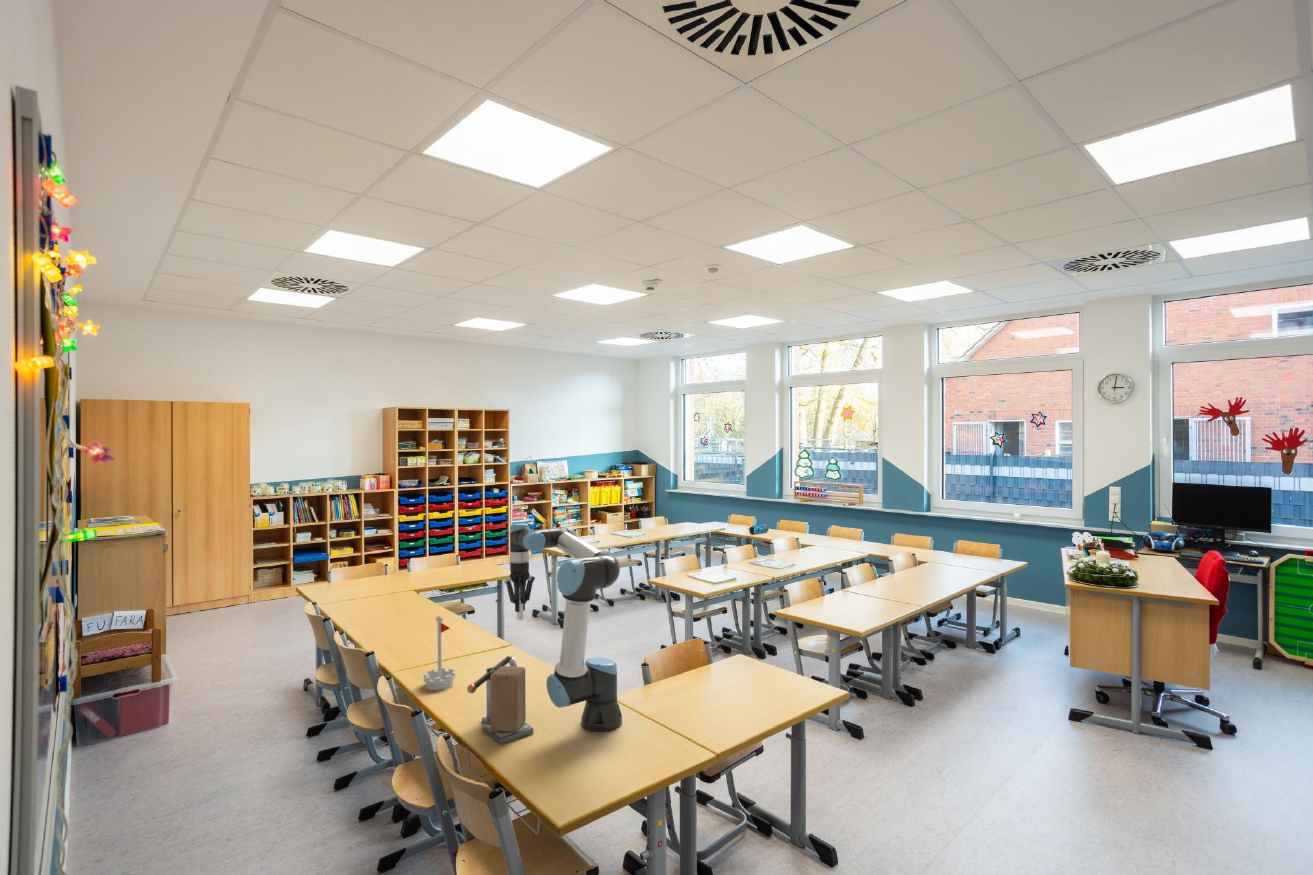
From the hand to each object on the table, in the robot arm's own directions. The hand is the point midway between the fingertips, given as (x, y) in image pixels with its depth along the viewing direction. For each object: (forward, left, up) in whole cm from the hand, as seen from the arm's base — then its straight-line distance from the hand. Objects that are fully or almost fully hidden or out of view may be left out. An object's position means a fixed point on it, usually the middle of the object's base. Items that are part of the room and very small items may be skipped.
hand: (520, 619), depth 259 cm
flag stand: (+37, +19, -33) cm, 53 cm away
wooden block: (-24, +18, -30) cm, 43 cm away
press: (-20, +18, -32) cm, 42 cm away
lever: (-12, +17, -18) cm, 27 cm away
